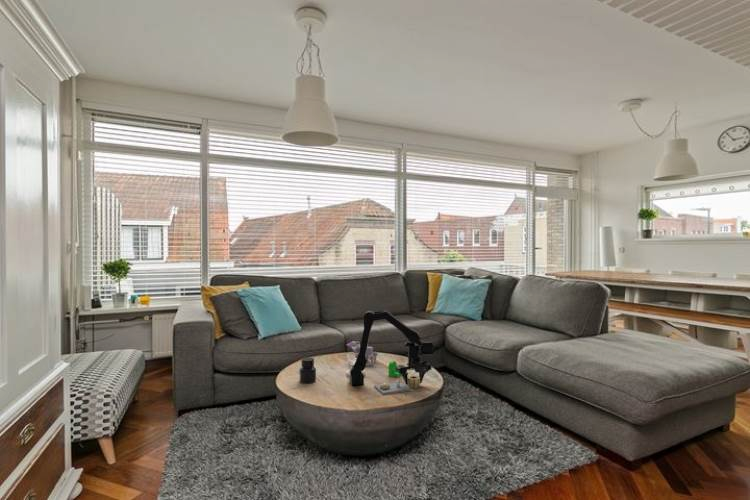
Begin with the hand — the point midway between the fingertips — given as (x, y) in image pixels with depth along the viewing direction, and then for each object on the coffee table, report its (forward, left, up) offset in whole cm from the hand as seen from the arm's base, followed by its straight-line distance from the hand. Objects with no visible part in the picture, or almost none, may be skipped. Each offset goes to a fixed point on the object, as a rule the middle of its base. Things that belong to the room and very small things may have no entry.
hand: (413, 384), depth 217 cm
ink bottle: (-50, +29, -1) cm, 58 cm away
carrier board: (-12, 0, -1) cm, 13 cm away
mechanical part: (+2, +22, -2) cm, 22 cm away
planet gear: (0, 0, -1) cm, 1 cm away
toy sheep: (-11, +50, -1) cm, 51 cm away
